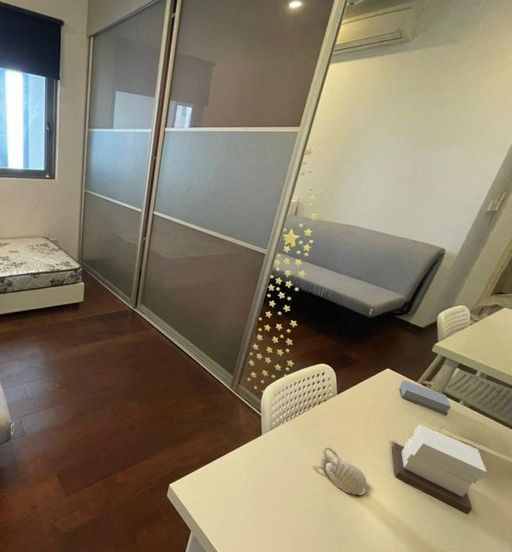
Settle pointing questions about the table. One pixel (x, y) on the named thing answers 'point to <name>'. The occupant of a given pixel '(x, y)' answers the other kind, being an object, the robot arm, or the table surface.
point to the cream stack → (432, 475)
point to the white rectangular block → (450, 451)
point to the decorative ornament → (345, 474)
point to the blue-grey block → (425, 397)
